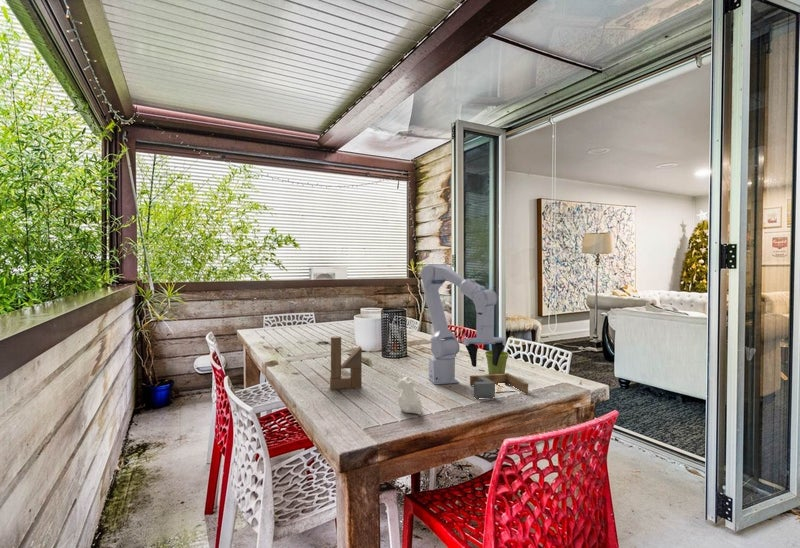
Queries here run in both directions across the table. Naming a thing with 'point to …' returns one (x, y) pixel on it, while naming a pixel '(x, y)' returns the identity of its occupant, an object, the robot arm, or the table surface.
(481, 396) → the bracket
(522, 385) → the walls
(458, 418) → the table surface
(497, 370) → the plant pot
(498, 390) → the pad
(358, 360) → the brown angular piece
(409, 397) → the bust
